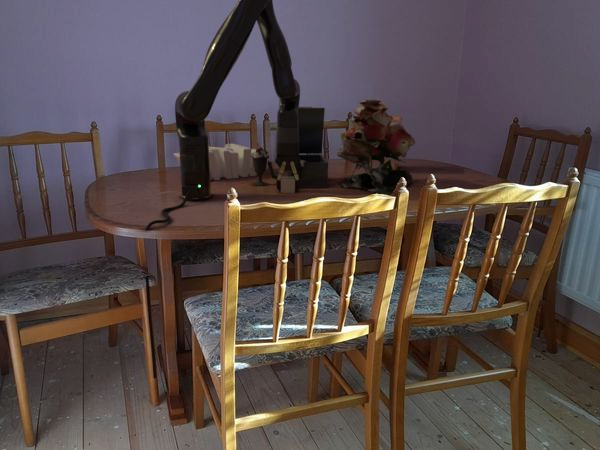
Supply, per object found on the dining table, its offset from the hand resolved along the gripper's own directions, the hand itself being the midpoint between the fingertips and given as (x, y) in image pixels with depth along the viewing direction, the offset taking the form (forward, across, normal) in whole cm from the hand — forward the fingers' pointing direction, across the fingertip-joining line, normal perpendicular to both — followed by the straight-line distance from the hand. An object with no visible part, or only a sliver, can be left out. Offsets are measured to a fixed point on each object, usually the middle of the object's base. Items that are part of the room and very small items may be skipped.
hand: (287, 190), depth 182 cm
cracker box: (+1, +45, +36) cm, 58 cm away
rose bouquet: (+1, +31, +10) cm, 33 cm away
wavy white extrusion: (+1, -23, +28) cm, 36 cm away
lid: (-17, +8, +19) cm, 27 cm away
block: (0, 0, 0) cm, 0 cm away
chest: (0, +8, +13) cm, 15 cm away
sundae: (+1, -9, +11) cm, 14 cm away
